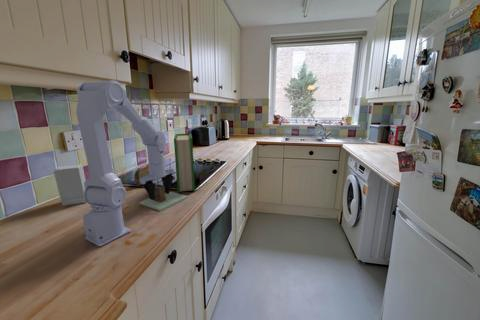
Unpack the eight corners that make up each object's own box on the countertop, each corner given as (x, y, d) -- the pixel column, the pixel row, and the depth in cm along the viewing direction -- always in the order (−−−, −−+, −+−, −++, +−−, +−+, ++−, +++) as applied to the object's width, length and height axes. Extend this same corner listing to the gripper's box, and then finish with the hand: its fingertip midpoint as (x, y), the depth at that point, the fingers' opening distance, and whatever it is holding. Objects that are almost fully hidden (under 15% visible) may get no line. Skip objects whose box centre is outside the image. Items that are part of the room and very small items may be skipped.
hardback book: (195, 191, 102) (192, 138, 96) (177, 193, 100) (173, 138, 94) (193, 179, 118) (191, 133, 113) (179, 181, 117) (175, 134, 111)
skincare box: (89, 197, 96) (83, 163, 93) (85, 203, 90) (79, 167, 87) (65, 200, 93) (59, 165, 90) (60, 206, 88) (52, 169, 84)
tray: (160, 210, 83) (160, 208, 83) (139, 203, 89) (139, 201, 89) (187, 197, 95) (187, 195, 95) (167, 192, 101) (167, 190, 101)
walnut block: (160, 202, 88) (159, 187, 87) (153, 200, 90) (152, 186, 89) (165, 200, 90) (164, 185, 89) (159, 198, 93) (157, 184, 91)
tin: (140, 188, 107) (138, 170, 105) (134, 187, 108) (132, 170, 106) (157, 178, 121) (156, 163, 120) (152, 178, 122) (150, 162, 120)
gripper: (164, 157, 95) (167, 188, 98) (132, 165, 83) (136, 200, 86) (176, 159, 91) (179, 191, 94) (145, 168, 79) (149, 204, 82)
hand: (159, 196), depth 90 cm, fingers open, 6 cm apart
